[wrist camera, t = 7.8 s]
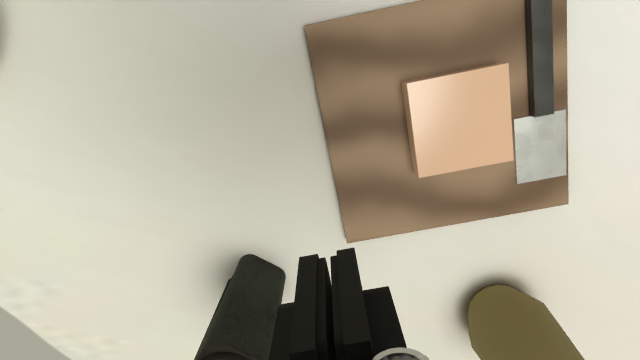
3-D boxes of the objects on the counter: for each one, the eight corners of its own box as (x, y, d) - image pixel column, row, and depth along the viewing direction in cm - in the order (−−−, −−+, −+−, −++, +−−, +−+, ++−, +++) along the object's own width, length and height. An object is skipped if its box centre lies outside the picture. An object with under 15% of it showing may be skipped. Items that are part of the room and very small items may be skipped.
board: (304, 27, 32) (304, 25, 31) (557, -28, 31) (566, -31, 30) (346, 237, 38) (347, 243, 37) (560, 199, 37) (568, 203, 35)
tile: (406, 83, 30) (508, 62, 30) (401, 82, 32) (495, 63, 32) (418, 178, 32) (513, 160, 32) (412, 171, 35) (501, 154, 34)
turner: (505, -18, 30) (511, -21, 29) (562, -30, 30) (570, -34, 29) (516, 183, 35) (521, 186, 34) (564, 174, 35) (571, 177, 34)
